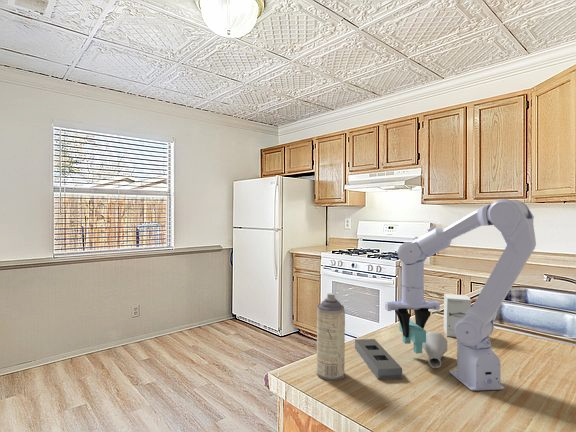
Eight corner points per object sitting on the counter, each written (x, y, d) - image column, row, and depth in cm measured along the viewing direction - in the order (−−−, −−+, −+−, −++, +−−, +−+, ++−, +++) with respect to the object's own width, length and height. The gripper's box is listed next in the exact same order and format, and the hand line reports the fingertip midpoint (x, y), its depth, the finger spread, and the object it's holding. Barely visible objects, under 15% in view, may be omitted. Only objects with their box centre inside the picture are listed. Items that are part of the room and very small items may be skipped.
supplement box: (446, 336, 116) (446, 297, 116) (443, 329, 123) (443, 293, 123) (471, 339, 114) (471, 299, 114) (466, 331, 121) (467, 294, 121)
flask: (443, 328, 100) (445, 348, 91) (451, 352, 101) (454, 373, 91) (416, 333, 103) (416, 352, 94) (425, 355, 103) (425, 377, 94)
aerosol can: (349, 377, 88) (350, 295, 87) (325, 382, 85) (326, 298, 84) (334, 366, 94) (335, 289, 94) (311, 371, 91) (312, 292, 91)
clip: (426, 354, 93) (426, 331, 93) (414, 354, 93) (415, 331, 92) (409, 340, 103) (409, 319, 103) (399, 340, 102) (399, 319, 102)
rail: (402, 378, 87) (402, 368, 87) (377, 379, 87) (378, 369, 86) (374, 347, 107) (374, 339, 107) (354, 348, 106) (354, 339, 106)
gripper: (430, 282, 102) (430, 330, 102) (381, 283, 101) (381, 332, 101) (443, 288, 95) (443, 339, 95) (390, 289, 94) (390, 341, 94)
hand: (412, 336), depth 98 cm, fingers closed on clip, 3 cm apart
